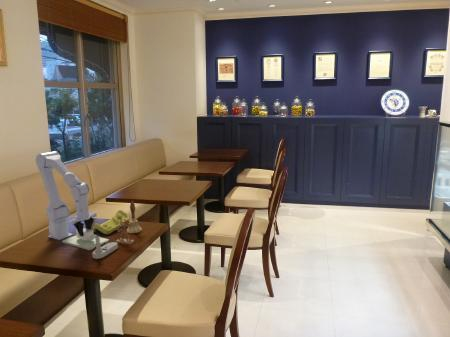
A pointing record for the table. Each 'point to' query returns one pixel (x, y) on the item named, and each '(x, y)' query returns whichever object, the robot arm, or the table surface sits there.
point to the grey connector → (86, 234)
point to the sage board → (84, 242)
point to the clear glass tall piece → (122, 240)
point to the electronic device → (103, 249)
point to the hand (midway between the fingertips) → (85, 234)
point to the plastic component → (111, 223)
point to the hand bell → (133, 221)
